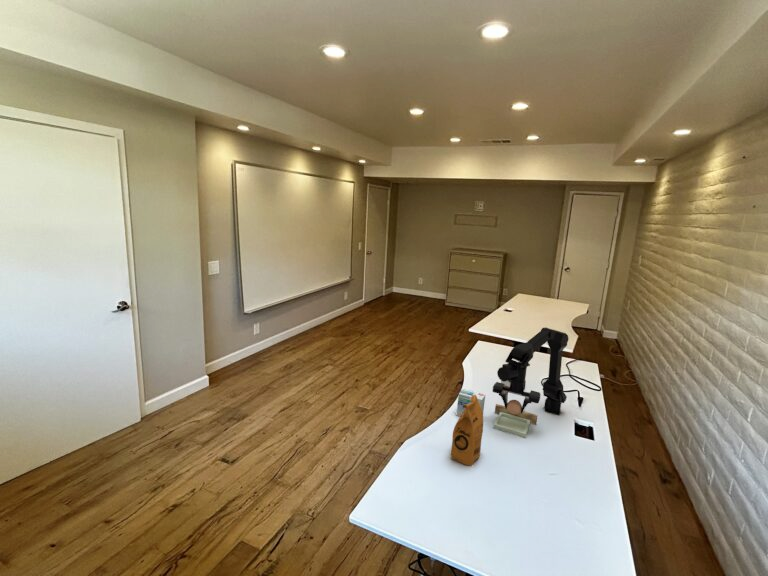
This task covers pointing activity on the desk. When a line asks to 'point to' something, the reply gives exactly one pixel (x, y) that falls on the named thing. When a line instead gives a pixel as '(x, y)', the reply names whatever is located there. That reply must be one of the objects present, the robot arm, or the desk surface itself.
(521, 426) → the sage tray
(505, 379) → the robot arm
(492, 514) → the desk surface
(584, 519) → the desk surface
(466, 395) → the light bulb box
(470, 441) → the coffee package
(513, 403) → the ball
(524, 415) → the oak rail
